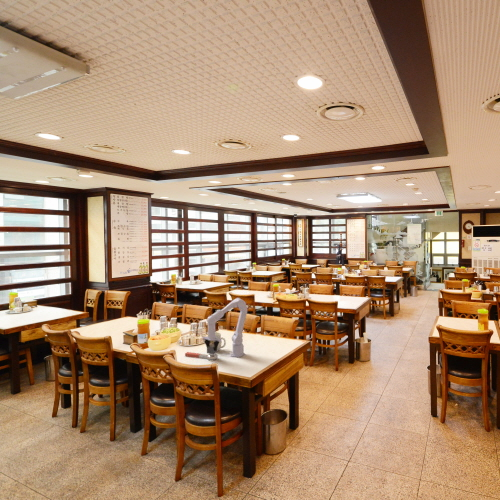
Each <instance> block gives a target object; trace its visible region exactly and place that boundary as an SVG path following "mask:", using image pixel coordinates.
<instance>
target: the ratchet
mask: <svg viewBox="0 0 500 500" xmlns="http://www.w3.org/2000/svg"><path fill="white" fill-rule="evenodd" d="M184 355H185V356H184V357H189V358H195V359H196V358H197V359H205V360H207V361H210V360H213V361H216V360H218V354H216V353H214V354H209V353H208V354H204V353H199V352H198V353H197V352H191V351H190V352H189V351H187V352H185V353H184Z"/></svg>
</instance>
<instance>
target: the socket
mask: <svg viewBox="0 0 500 500" xmlns="http://www.w3.org/2000/svg"><path fill="white" fill-rule="evenodd" d="M217 352H218V351H217V350H216V351H215V349H214V345H209V346H207V347H206V354H208V355H209V354H214V353H215V354H216V353H217Z"/></svg>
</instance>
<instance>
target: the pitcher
mask: <svg viewBox="0 0 500 500" xmlns="http://www.w3.org/2000/svg"><path fill="white" fill-rule="evenodd" d="M215 333H216V338H220V339H221V341H220V342H219V344H218V347H217V352H218V351H220V349H222V348H224V347H225V346H226V344H227V343H226V342H227V340H226V339H225V338H224V336H222V337H221V335H222V333H221V332H216V331H215ZM205 334H207V335H208V331H207V332H205ZM222 340H223V345H222ZM214 342H215V341H210V345H214Z"/></svg>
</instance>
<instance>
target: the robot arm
mask: <svg viewBox="0 0 500 500" xmlns="http://www.w3.org/2000/svg"><path fill="white" fill-rule="evenodd" d="M233 308H238V310H239V311H240V312H239V316H238V319H237V324H236V328H235V331H234V332H233V334H232V336H231V341H232V354H231V355H230V357H234V358H241V357H242V356H244V355H245V352H244V351H245V350H244V344H243V339H244V338H243V337H244V336H243V332H244V331H243V330H244V327H245V322H246V318H247V314H248V307H247V303H246V302H245V300H243V299H241V298H240V297H236V298H235V299H232V301H230V302H229V303H228V304H227V305H226V306H224V307H223V308H222V309H218V310H216V311H215V312H214V313H213V314H211V315H209V316H208V317H207V319H206V322H207V332H208V334H207V336H203V337H202V341H203V343H204V344H205V346H206V348H207V346H209V345H210V341H215V342H214V349H215V351H216V350H217V347H218V344H219V342H220V341H222V339H220V338H216V333H215V332H216V323H217V322H218V321H219V320H220V319H221V318H223V317H224V316H225V313H228V311H230V310H232V309H233Z"/></svg>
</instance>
